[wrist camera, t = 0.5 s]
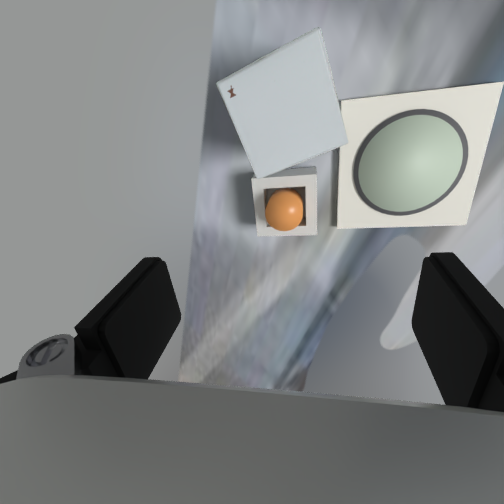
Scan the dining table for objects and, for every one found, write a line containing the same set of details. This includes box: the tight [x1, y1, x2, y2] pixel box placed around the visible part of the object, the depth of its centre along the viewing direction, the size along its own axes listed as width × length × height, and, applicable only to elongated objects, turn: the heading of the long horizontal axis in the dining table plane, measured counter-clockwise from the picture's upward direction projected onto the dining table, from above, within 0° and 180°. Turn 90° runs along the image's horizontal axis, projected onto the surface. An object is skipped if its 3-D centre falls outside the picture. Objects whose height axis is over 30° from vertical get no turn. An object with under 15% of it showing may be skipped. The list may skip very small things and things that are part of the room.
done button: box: [265, 188, 303, 231], centre depth 32 cm, size 4×4×3 cm
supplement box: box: [216, 27, 348, 179], centre depth 25 cm, size 7×7×13 cm
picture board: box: [337, 82, 504, 229], centre depth 31 cm, size 14×14×1 cm
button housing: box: [251, 167, 317, 236], centre depth 34 cm, size 7×7×4 cm
